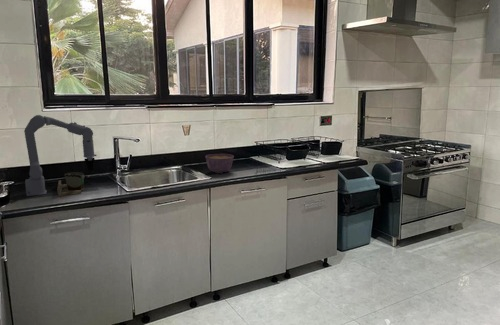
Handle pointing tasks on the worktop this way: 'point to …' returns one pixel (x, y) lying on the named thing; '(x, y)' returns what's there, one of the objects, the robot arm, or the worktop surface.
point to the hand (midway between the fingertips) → (90, 170)
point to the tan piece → (66, 191)
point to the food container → (74, 181)
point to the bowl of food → (219, 162)
